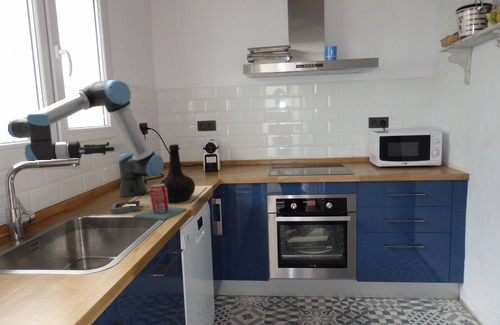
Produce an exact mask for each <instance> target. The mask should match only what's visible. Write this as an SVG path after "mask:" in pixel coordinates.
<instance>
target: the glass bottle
mask: <svg viewBox="0 0 500 325" xmlns="http://www.w3.org/2000/svg"><path fill="white" fill-rule="evenodd" d="M168 147H169V148H168V150H169V169H168V174H167V175H166V177H165V178H163V179H162V180H161V181H160V182H159V184H165V186H166V188H167V195H168V203H181V202H185V201H187V200H189V199H190V198H191V197H192V196H193V195H194V193H195V189H196V184H195V181H194V180H193V178H191V177H190V176H187V175H185V174H184V173H183V170H182V166H181V160H180V151H179V150H180V149H181V148H180V147H179V144H178V143H177V144H169V146H168ZM180 201H181V202H180Z"/></svg>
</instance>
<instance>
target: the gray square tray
mask: <svg viewBox="0 0 500 325" xmlns="http://www.w3.org/2000/svg"><path fill="white" fill-rule="evenodd" d="M140 203H141V202H140V200H132V201H124V202H114V203H112V206H111V208H110V214H111V215H115V214H123V213H132V212H139V211H140V209H139V205H140V206H141V204H140ZM125 204H136V206H129V207H122V206H123V205H125Z"/></svg>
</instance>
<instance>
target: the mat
mask: <svg viewBox="0 0 500 325" xmlns="http://www.w3.org/2000/svg"><path fill="white" fill-rule="evenodd" d="M187 210H188V209H187V208H185V207H173V206H171V207H170V206H168V210H167V211H166V212H165V213H155V212H153V211H152V208H150V209H147V210H145V211H143V212H142V211H141V212H139V213H137V214H134V215H133V219H134V218H135V219H145V220H155V221H166V220H168V219H170V218H173V217H174V216H177V215H180V214H181V213H184V212H186V211H187Z"/></svg>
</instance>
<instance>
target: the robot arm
mask: <svg viewBox="0 0 500 325" xmlns="http://www.w3.org/2000/svg"><path fill="white" fill-rule="evenodd" d="M131 95H132V94H131V89H130V87H129V86H128V85H127V83H126V82H124V81H123V80H120V79H109V80H102V81H95V82H92V83H91V84H88V85H86V86H84V87H82V88H79V90H76V91H74V93H73V95H70V96H68V97H67V98H64V99H61V100H60V101H57V102H55V103H53V104H50V105H49V106H46V107H44V108H42V109H39V110H38V111H35V112H33V113H29V114H27V115H26V116H23V117H22V118H20V119H14V120H10V122H9V123H8V124H7V126H8V131H7V133H8V132H9V133H8V134H9V135H10V136H11V137H13V138H16V139H17V138H18V139H25V138H26V139H27V138H29V140H30V143H29V144H26V145H25V146H24V155H25V159H26V161H27V162H28V161H35V160H51V159H69V160H71V159H70V158H79V159H78V160H81V158H82V155H85V156H86V155H87V156H88V155H93V154H102V156H103V155H105V156H106V154H108V153H119V152H120V153H121V152H124V150H126V143H127V144H128V146H129V148H130V151H131V152H129V153H123V154H120V155H119V156H118V166H119V174H120V175H119V176H120V186H119V190H118V195H119V197H126V198H127V197H138V196H143V195H146V194H147V193H148V188H147V187H146V184H145V181H144V178H143V177H149V178H152V177H157V176H159V175H160V174H161V173H162V171H163V168H164V165H165V164H164V159H163V157H162V155H159V154H156V152H155V151H154V149H153V147H151V146H149V145H148V143H147V140H146V138H145V136H144V134H143V133H142V130H141V129H140V126H139V124H138V122H137V120H136V117H135V116H134V114H133V112H132V110H131V107H130V106H131V101H130V100H131ZM103 106H104V107H105V109H106V111H107V112H108V113H109V114H112V115H113V118H114V119H115V121H116V123H117V125H118V127H119V129H120V131H121V133H122V135H123V137H124V139H125V141H126V143H125V142H115V143H110V142H108V141H107V142H106V143H103V144H102V143H101V144H94V143H93V144H83V146H81V143H80V142H79V140H75V141H71V140H70V141H58V142H57V141H56V142H53V138H52V129H51V126H52V125H54V124H56V123H58V122H59V121H62V120H64V119H66V118H68V117H70V116H72V115H74V114H76V113H78V112H80V111H82V110H84V111H88V110H90V109H91V108H96V107H103ZM145 193H146V194H145ZM142 194H143V195H142Z"/></svg>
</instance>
